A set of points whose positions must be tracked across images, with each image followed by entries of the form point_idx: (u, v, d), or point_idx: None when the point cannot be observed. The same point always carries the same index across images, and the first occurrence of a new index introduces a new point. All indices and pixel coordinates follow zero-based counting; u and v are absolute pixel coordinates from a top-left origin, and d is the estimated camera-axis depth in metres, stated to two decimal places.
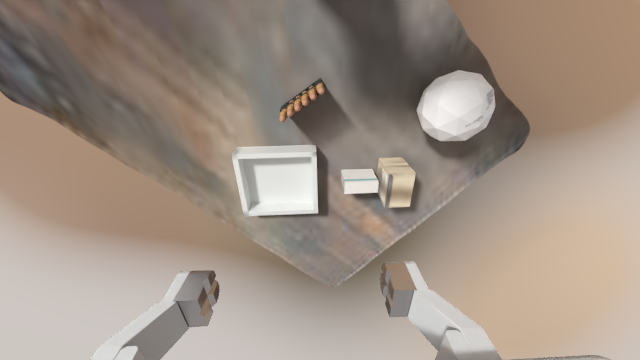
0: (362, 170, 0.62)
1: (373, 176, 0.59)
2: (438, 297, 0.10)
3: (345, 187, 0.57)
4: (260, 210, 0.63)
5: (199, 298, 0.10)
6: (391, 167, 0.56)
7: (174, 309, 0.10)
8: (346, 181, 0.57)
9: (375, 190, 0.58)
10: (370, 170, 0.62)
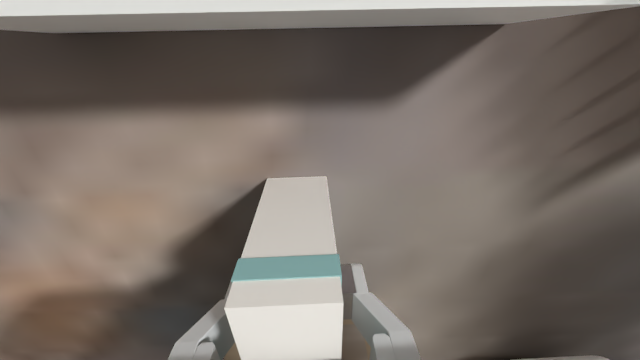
0: None
1: None
2: (377, 300, 0.10)
3: (293, 308, 0.06)
4: None
5: None
6: None
7: None
8: None
9: None
10: None
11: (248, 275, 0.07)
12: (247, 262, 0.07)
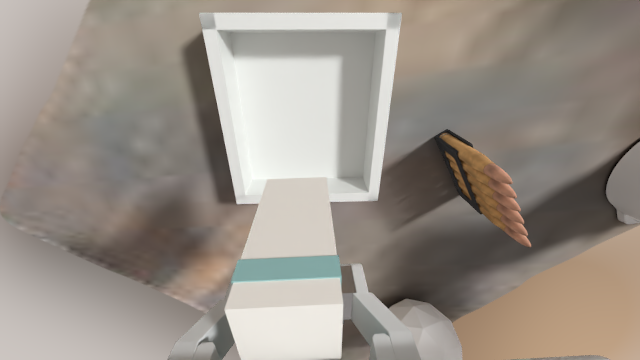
0: None
1: None
2: (377, 300, 0.10)
3: (293, 309, 0.06)
4: (225, 67, 0.23)
5: None
6: None
7: None
8: None
9: None
10: None
11: (248, 276, 0.07)
12: (247, 263, 0.07)
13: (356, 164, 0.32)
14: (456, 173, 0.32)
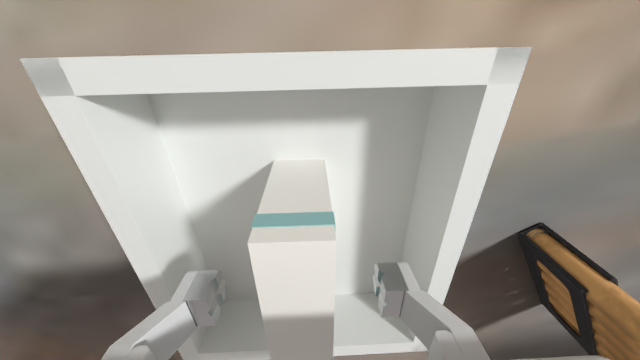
0: None
1: None
2: (430, 297, 0.10)
3: (298, 245, 0.08)
4: (121, 167, 0.10)
5: (208, 298, 0.10)
6: None
7: (183, 309, 0.10)
8: None
9: (283, 359, 0.12)
10: None
11: (263, 224, 0.09)
12: (262, 216, 0.09)
13: None
14: (551, 288, 0.19)
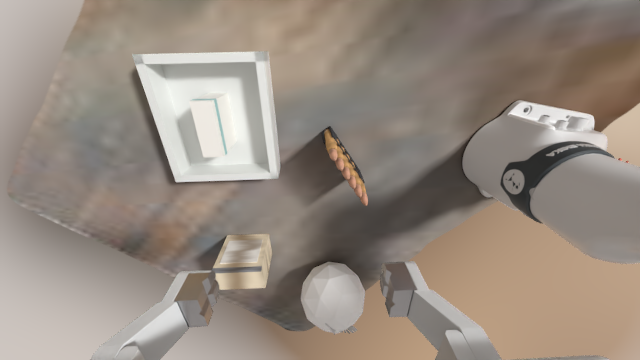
0: (232, 127, 0.40)
1: (228, 146, 0.38)
2: (438, 297, 0.10)
3: (202, 102, 0.32)
4: (154, 87, 0.34)
5: (199, 298, 0.10)
6: (265, 259, 0.48)
7: (174, 309, 0.10)
8: (215, 104, 0.33)
9: (206, 153, 0.36)
10: (234, 139, 0.41)
11: (195, 99, 0.33)
12: (195, 99, 0.33)
13: (266, 153, 0.43)
14: None
